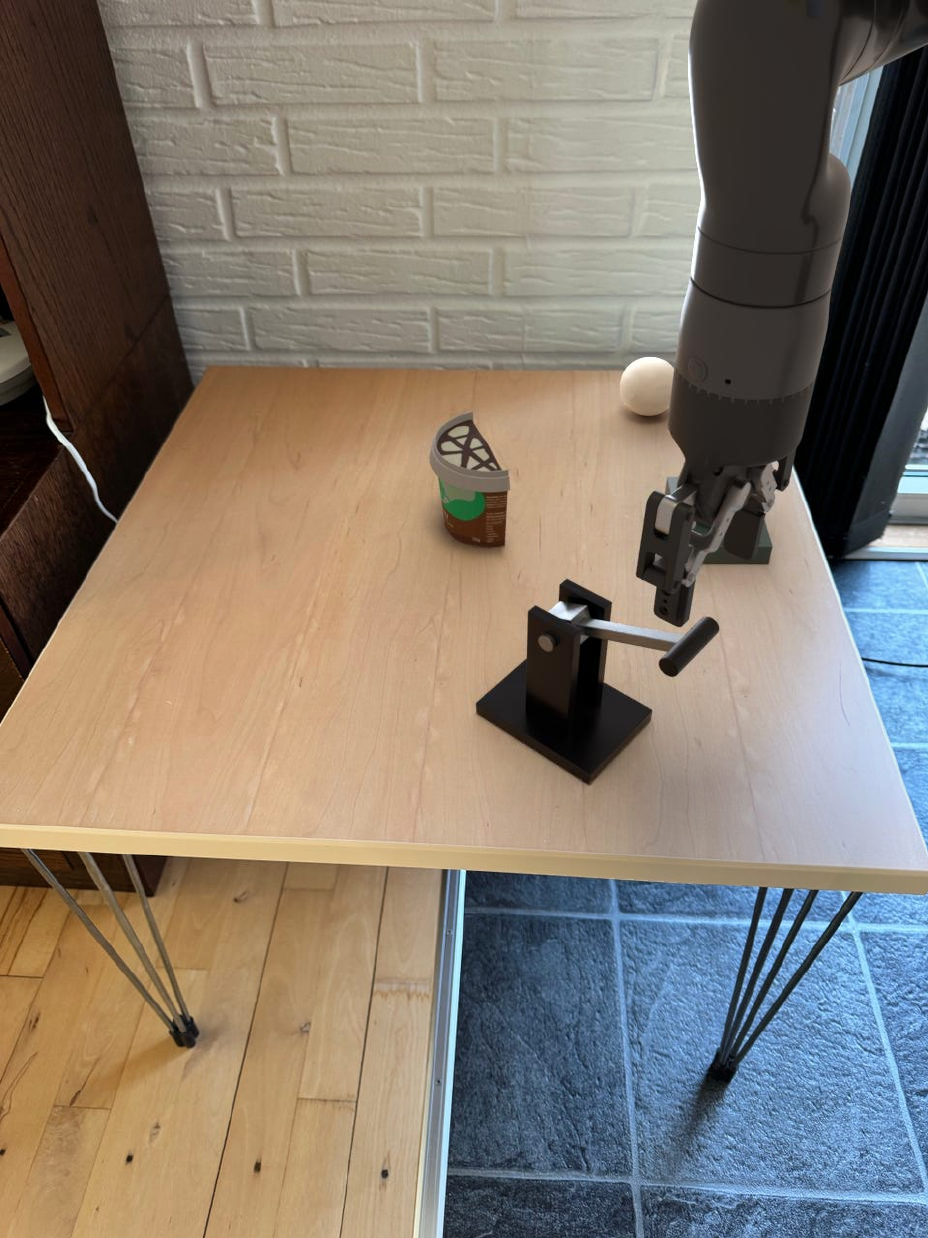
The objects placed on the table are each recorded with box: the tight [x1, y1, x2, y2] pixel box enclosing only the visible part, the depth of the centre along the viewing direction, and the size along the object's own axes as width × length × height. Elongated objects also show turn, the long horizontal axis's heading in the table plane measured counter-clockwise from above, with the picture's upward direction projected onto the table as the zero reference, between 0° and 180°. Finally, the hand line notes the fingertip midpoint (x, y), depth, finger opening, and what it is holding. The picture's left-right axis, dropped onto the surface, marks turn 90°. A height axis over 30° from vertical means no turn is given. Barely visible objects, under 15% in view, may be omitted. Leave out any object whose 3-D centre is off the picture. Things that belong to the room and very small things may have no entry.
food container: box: [428, 410, 511, 548], centre depth 99 cm, size 12×6×10 cm, turn 17°
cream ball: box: [619, 356, 674, 417], centre depth 116 cm, size 7×7×7 cm
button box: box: [664, 476, 774, 565], centre depth 100 cm, size 12×9×4 cm
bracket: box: [475, 578, 653, 785], centre depth 78 cm, size 12×9×13 cm
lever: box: [547, 601, 720, 678], centre depth 71 cm, size 13×6×2 cm, turn 49°
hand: (706, 585), depth 63 cm, fingers open, 8 cm apart
